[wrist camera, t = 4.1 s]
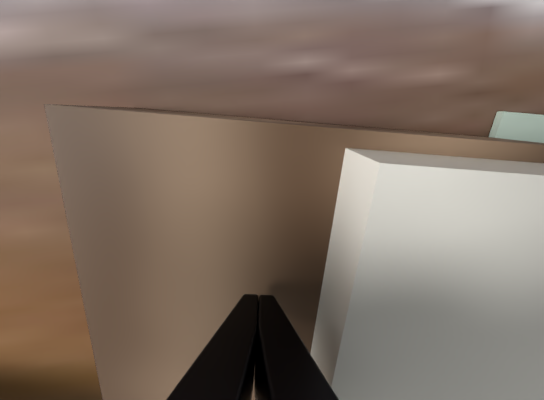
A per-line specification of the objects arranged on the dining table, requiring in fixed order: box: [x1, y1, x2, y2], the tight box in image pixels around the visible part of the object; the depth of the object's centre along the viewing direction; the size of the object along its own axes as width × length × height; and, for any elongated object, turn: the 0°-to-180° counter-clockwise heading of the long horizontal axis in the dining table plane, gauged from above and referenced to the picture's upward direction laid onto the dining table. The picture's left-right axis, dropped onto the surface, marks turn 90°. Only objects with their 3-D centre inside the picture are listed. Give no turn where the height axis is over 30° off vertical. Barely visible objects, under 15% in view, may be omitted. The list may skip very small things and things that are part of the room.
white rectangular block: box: [310, 148, 544, 400], centre depth 7 cm, size 6×9×2 cm, turn 175°
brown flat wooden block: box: [44, 104, 544, 400], centre depth 10 cm, size 14×10×4 cm
